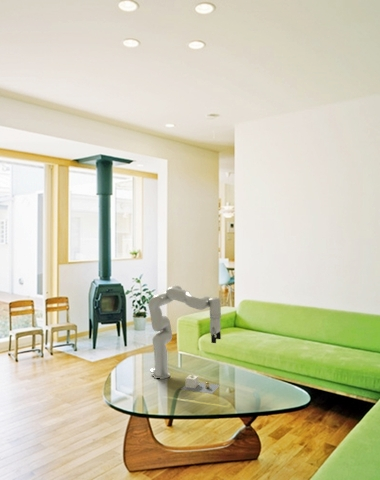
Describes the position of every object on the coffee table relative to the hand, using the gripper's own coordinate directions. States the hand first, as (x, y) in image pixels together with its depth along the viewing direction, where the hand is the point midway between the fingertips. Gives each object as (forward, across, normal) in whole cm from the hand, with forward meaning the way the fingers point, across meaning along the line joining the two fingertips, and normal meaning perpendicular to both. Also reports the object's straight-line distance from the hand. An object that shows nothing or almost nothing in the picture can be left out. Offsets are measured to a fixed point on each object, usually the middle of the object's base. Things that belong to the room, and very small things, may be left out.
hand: (216, 341), depth 270 cm
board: (+30, +12, -8) cm, 33 cm away
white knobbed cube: (+28, +12, -14) cm, 34 cm away
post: (+28, +12, -3) cm, 31 cm away
